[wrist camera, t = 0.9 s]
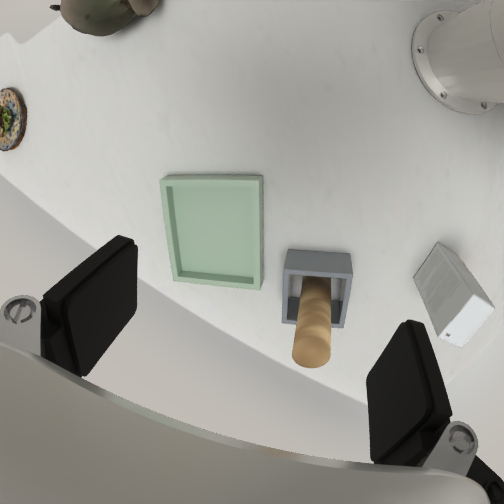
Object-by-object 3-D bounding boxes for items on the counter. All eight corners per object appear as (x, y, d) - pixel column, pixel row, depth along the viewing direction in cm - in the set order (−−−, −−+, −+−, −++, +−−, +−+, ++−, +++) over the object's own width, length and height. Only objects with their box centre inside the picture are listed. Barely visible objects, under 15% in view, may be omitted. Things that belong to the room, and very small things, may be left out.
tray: (262, 175, 35) (258, 180, 33) (263, 280, 42) (260, 290, 40) (168, 175, 38) (159, 180, 36) (180, 272, 44) (173, 281, 42)
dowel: (332, 267, 39) (332, 342, 26) (329, 290, 40) (327, 369, 28) (303, 264, 39) (293, 339, 27) (302, 288, 41) (290, 366, 29)
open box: (349, 253, 37) (352, 274, 33) (342, 304, 41) (343, 328, 36) (288, 249, 39) (283, 269, 34) (286, 300, 42) (281, 323, 38)
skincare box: (434, 290, 37) (460, 350, 26) (412, 277, 37) (435, 338, 26) (459, 254, 34) (496, 308, 23) (437, 240, 34) (473, 293, 23)
